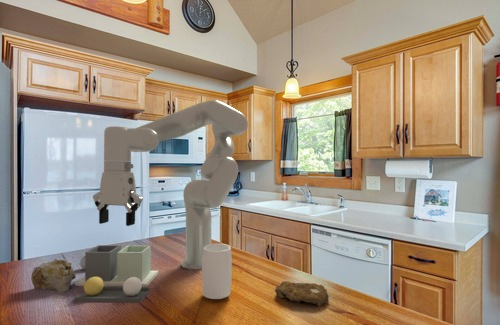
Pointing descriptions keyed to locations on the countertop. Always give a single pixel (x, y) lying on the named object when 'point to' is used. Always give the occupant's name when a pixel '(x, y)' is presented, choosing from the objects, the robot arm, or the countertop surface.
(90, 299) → the mat
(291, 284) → the decorative rock
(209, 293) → the cup
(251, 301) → the countertop surface
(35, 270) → the rock
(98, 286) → the mustard ball
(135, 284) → the white ball
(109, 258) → the grey double box
